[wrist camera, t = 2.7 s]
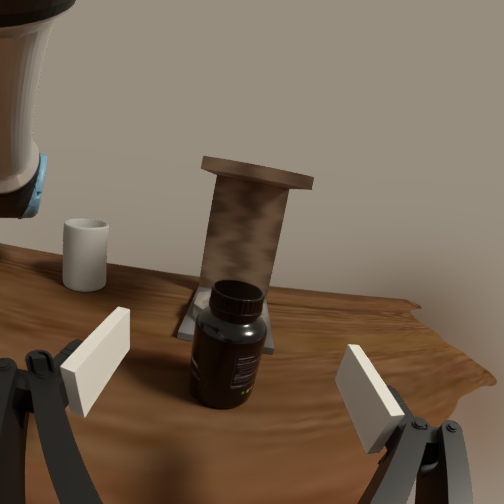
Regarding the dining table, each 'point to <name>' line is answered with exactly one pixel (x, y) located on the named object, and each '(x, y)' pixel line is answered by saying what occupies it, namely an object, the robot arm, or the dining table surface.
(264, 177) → the awning stand
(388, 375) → the dining table surface
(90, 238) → the mug
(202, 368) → the supplement bottle
